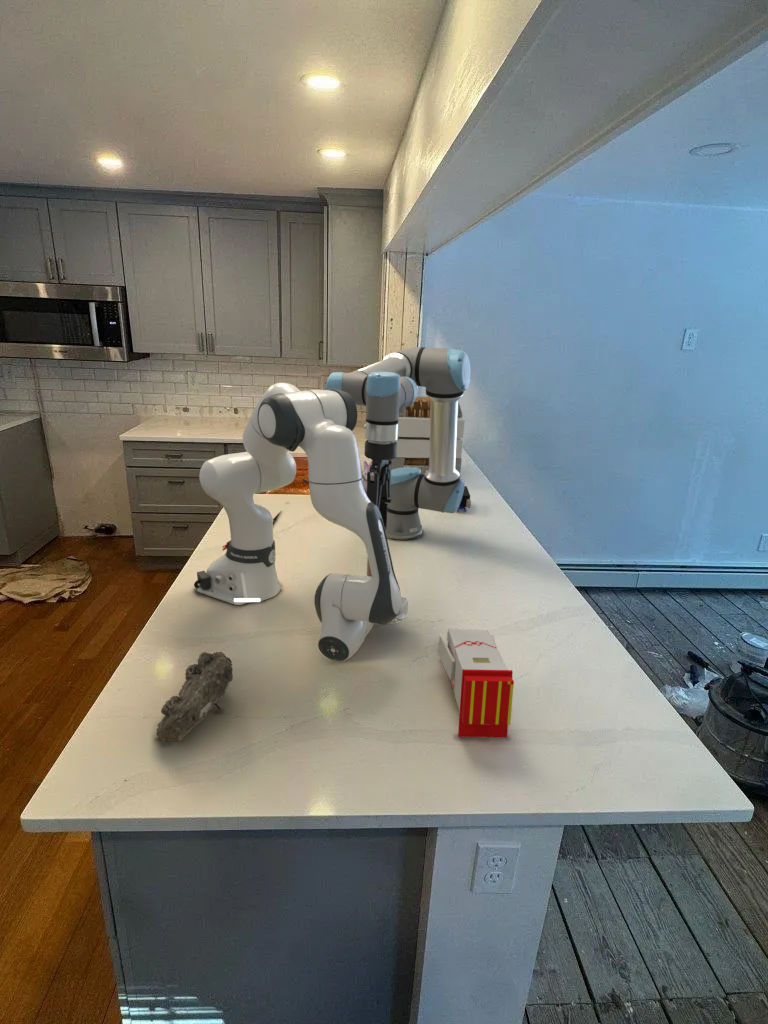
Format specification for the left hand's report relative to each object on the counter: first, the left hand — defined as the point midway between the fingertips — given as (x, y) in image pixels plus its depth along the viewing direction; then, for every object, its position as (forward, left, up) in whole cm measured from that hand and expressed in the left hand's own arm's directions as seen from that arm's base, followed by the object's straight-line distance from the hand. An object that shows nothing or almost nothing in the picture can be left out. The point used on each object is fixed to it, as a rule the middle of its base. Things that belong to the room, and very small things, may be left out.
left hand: (375, 588), depth 146 cm
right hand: (0, -1, +16) cm, 16 cm away
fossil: (-20, -48, -7) cm, 52 cm away
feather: (-56, +55, -7) cm, 78 cm away
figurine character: (+7, +92, -7) cm, 92 cm away
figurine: (-32, +91, -7) cm, 97 cm away
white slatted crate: (-21, +134, -7) cm, 136 cm away
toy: (+29, -24, -7) cm, 38 cm away
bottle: (0, -1, -7) cm, 7 cm away
